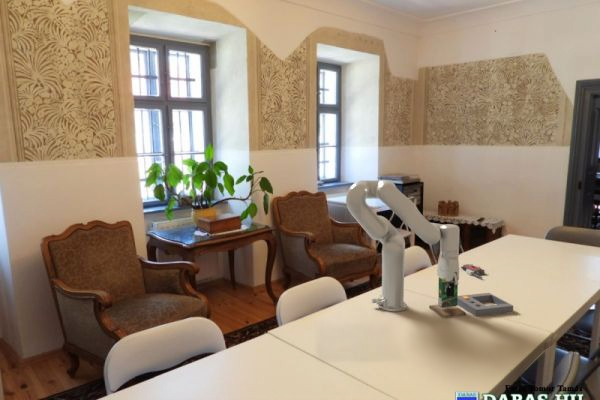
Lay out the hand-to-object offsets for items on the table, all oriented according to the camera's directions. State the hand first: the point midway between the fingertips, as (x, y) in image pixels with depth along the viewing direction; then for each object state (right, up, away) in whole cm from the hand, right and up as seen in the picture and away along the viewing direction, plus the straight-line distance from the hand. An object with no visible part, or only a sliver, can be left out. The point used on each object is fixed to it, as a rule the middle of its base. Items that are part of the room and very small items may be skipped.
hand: (447, 294), depth 182 cm
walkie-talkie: (+33, -1, +52) cm, 61 cm away
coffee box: (0, -5, +1) cm, 5 cm away
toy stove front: (+17, -7, +5) cm, 19 cm away
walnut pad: (0, -8, +1) cm, 8 cm away
